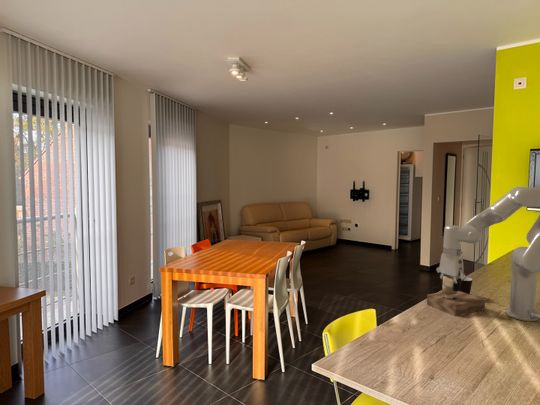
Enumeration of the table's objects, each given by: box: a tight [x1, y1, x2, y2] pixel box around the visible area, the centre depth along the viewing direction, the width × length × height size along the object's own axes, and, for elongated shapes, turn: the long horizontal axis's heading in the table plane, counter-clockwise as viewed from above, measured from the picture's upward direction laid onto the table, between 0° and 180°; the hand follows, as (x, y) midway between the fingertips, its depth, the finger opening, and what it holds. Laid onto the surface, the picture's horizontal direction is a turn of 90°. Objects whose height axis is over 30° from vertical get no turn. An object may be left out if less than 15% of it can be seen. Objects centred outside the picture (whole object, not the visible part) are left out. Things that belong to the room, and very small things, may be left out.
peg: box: [441, 275, 457, 300], centre depth 175 cm, size 6×6×11 cm
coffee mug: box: [456, 276, 473, 295], centre depth 193 cm, size 12×9×10 cm
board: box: [426, 291, 486, 317], centre depth 177 cm, size 16×20×5 cm
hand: (449, 288), depth 175 cm, fingers closed on peg, 6 cm apart
